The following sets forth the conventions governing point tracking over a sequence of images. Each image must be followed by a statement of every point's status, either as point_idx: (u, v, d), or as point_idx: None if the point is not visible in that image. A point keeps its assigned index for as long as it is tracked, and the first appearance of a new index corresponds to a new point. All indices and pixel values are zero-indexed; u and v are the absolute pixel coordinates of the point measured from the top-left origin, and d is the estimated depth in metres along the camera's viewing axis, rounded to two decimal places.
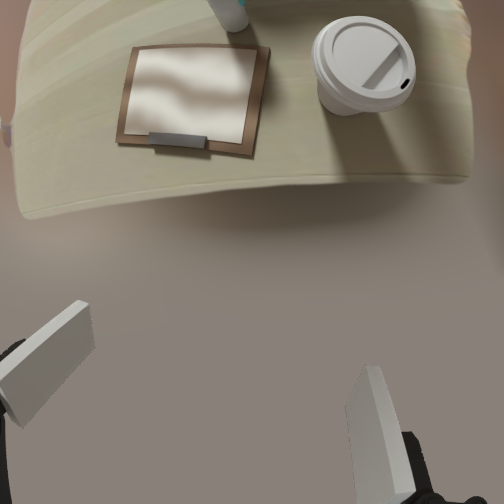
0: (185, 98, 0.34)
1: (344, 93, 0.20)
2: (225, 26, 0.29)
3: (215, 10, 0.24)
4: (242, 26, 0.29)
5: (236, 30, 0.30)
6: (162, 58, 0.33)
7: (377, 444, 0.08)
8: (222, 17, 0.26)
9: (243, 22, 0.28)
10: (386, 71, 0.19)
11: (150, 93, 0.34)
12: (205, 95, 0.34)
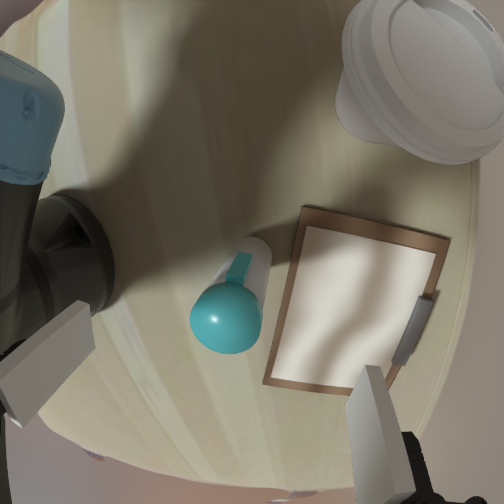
0: (363, 323, 0.27)
1: None
2: None
3: None
4: (266, 247, 0.25)
5: (271, 256, 0.25)
6: (294, 351, 0.29)
7: (377, 444, 0.08)
8: None
9: (262, 246, 0.24)
10: None
11: (341, 363, 0.29)
12: (366, 298, 0.26)
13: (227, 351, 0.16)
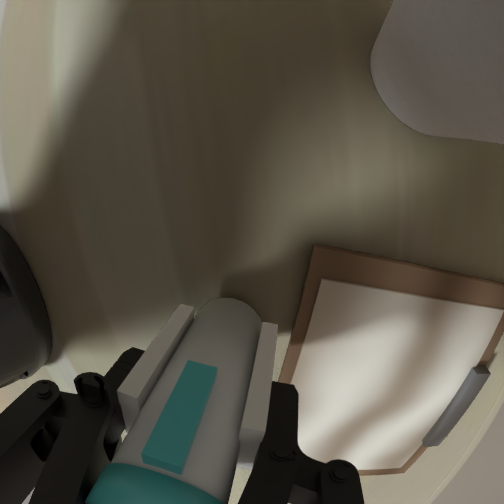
0: (394, 407, 0.16)
1: None
2: None
3: None
4: (253, 320, 0.14)
5: None
6: None
7: (249, 386, 0.10)
8: None
9: (245, 322, 0.13)
10: None
11: (357, 450, 0.18)
12: (403, 378, 0.16)
13: None
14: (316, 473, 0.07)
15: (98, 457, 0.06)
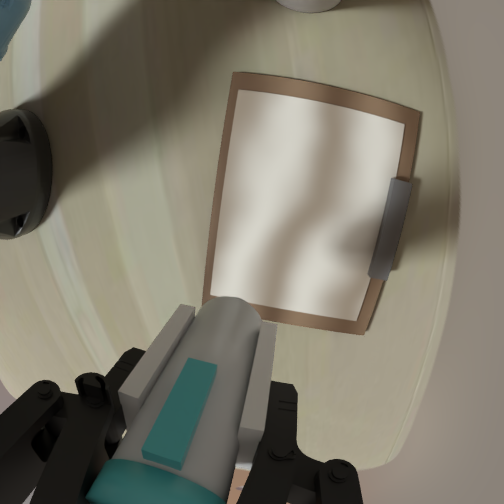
0: (321, 211, 0.22)
1: None
2: None
3: None
4: (253, 319, 0.14)
5: None
6: (235, 253, 0.24)
7: None
8: None
9: (245, 320, 0.13)
10: None
11: (299, 274, 0.24)
12: (320, 175, 0.21)
13: None
14: (315, 473, 0.07)
15: (99, 457, 0.06)
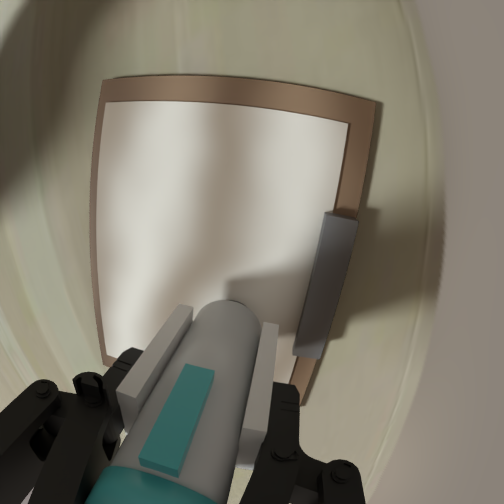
0: (216, 266, 0.16)
1: None
2: None
3: None
4: (251, 322, 0.14)
5: (260, 333, 0.14)
6: (120, 313, 0.18)
7: (250, 387, 0.10)
8: None
9: (243, 324, 0.13)
10: None
11: None
12: (211, 214, 0.15)
13: None
14: (317, 473, 0.07)
15: (97, 457, 0.06)
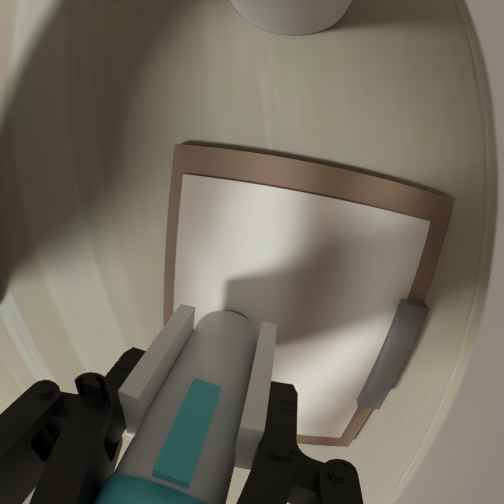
0: (301, 343, 0.16)
1: None
2: None
3: None
4: (252, 336, 0.14)
5: None
6: None
7: None
8: None
9: (245, 339, 0.13)
10: None
11: None
12: (302, 301, 0.16)
13: None
14: (315, 473, 0.07)
15: (99, 457, 0.06)
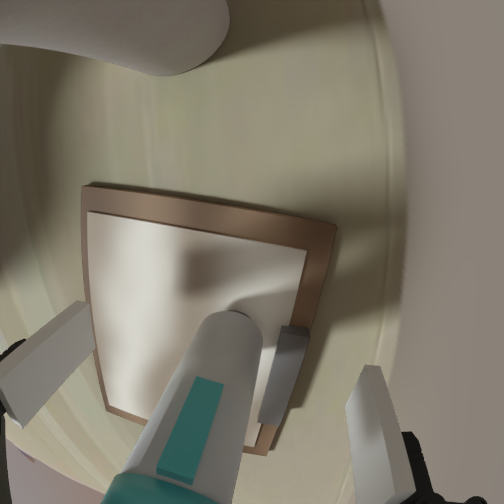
0: None
1: None
2: None
3: None
4: (254, 335, 0.14)
5: (261, 345, 0.15)
6: (119, 379, 0.20)
7: (377, 444, 0.08)
8: None
9: (247, 337, 0.14)
10: None
11: None
12: (186, 321, 0.17)
13: None
14: None
15: None
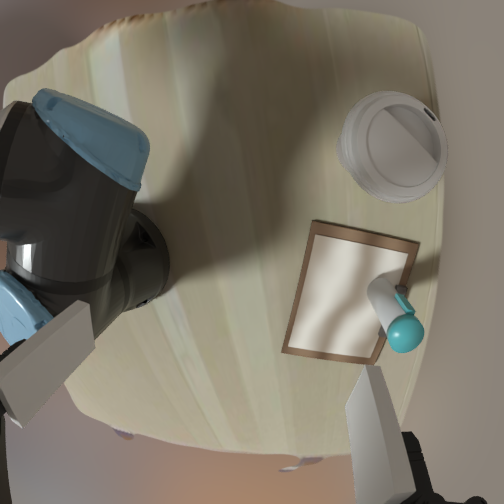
0: (355, 303, 0.38)
1: None
2: None
3: None
4: None
5: None
6: (305, 325, 0.40)
7: (377, 444, 0.08)
8: None
9: None
10: (409, 127, 0.20)
11: (340, 335, 0.40)
12: (357, 285, 0.38)
13: (403, 351, 0.26)
14: None
15: None
